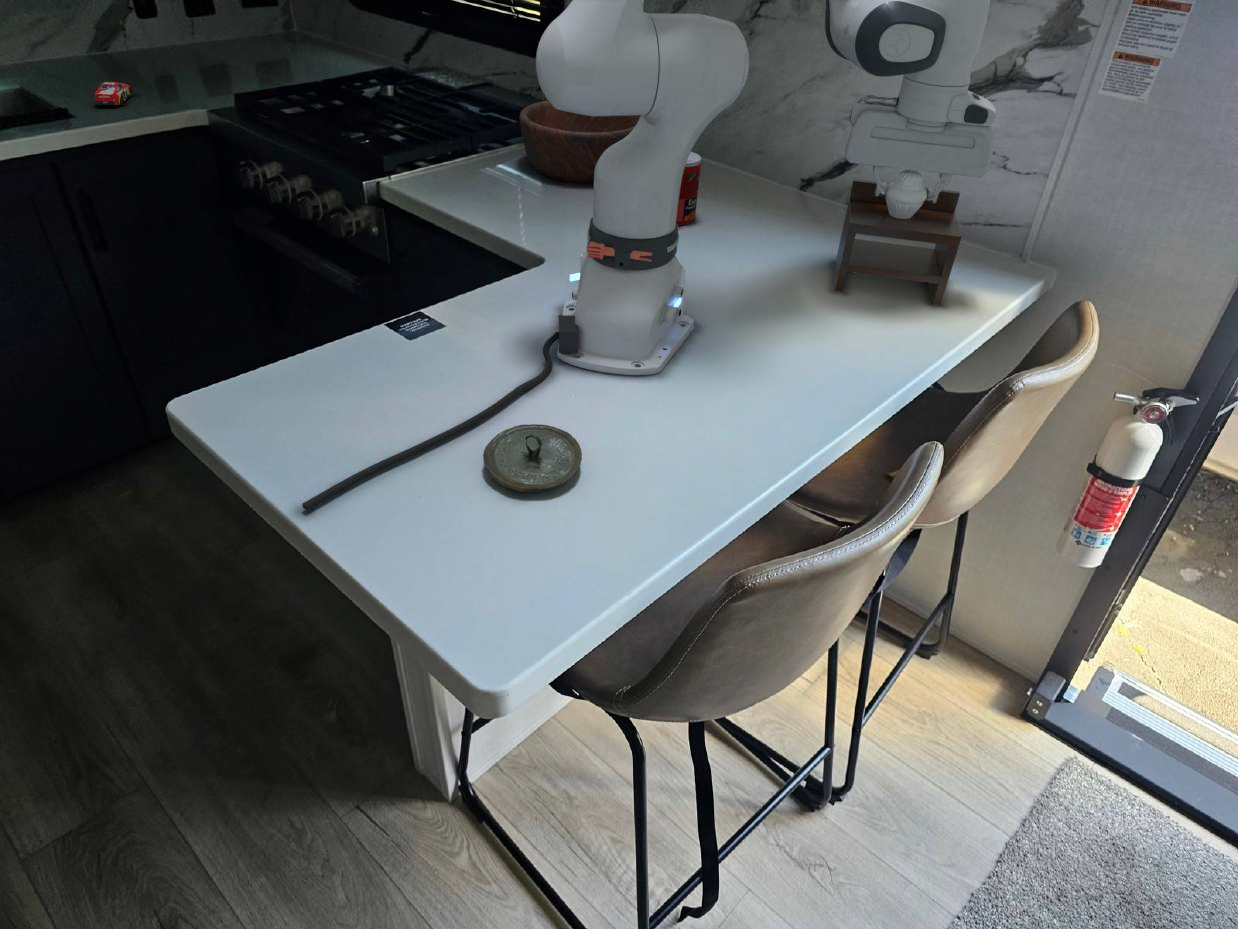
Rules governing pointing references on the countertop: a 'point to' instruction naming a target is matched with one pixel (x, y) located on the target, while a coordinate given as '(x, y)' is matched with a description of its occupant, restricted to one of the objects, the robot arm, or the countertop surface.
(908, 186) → the muffin
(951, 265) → the shelf
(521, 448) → the lid
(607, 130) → the wooden bowl
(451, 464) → the countertop surface
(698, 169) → the canned food
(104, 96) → the race car
